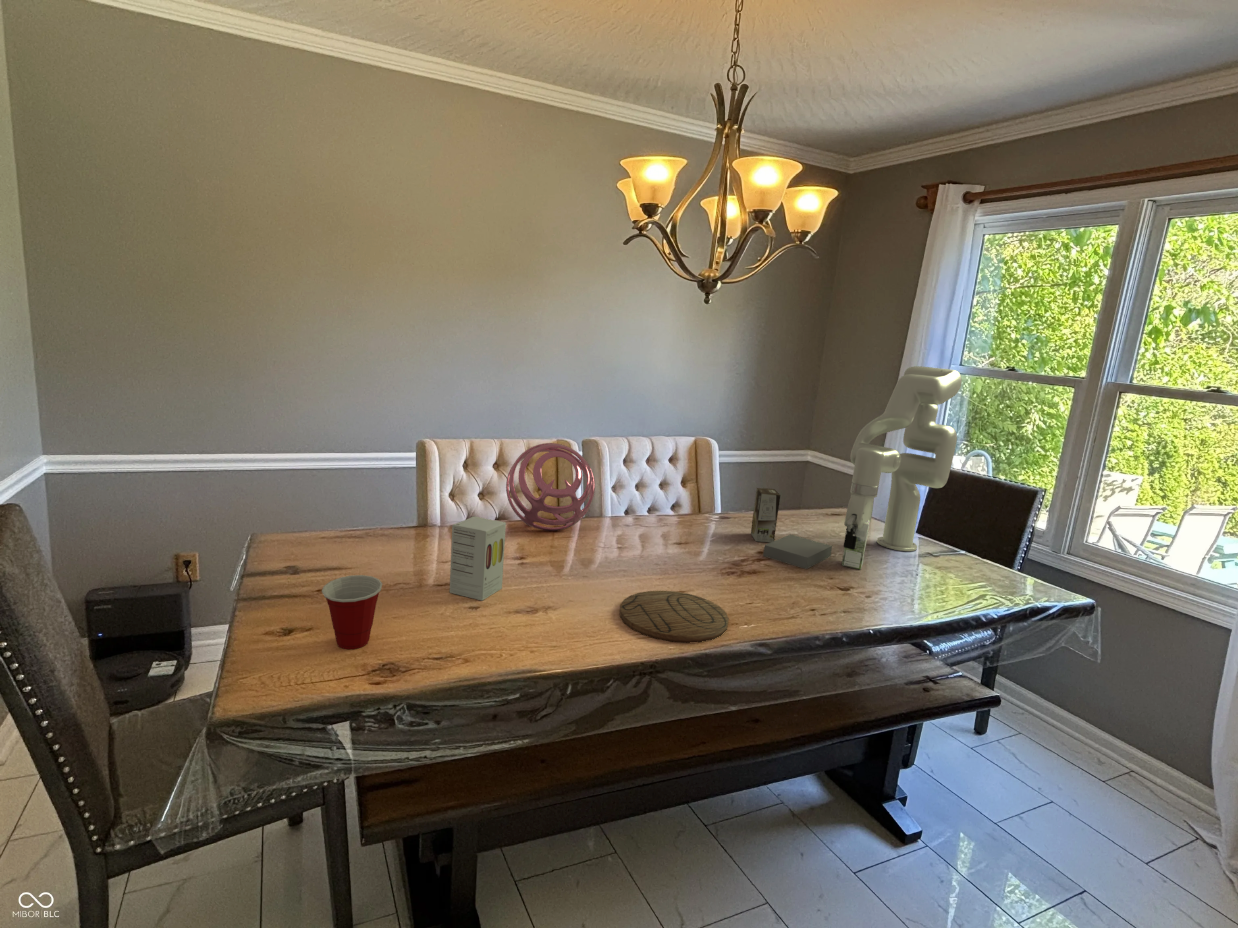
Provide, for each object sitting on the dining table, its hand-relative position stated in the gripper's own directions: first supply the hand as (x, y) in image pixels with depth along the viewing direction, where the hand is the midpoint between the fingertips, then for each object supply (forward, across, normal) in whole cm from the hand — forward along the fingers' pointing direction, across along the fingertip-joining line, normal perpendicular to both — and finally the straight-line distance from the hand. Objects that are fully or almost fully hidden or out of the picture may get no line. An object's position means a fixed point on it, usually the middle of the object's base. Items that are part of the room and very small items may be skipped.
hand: (854, 545), depth 204 cm
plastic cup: (+9, +132, -51) cm, 142 cm away
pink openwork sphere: (+8, +47, -81) cm, 94 cm away
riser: (+7, +6, -15) cm, 17 cm away
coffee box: (+7, -2, -31) cm, 32 cm away
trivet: (+8, +74, -15) cm, 76 cm away
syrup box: (+7, 0, 0) cm, 7 cm away
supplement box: (+8, +98, -56) cm, 113 cm away
